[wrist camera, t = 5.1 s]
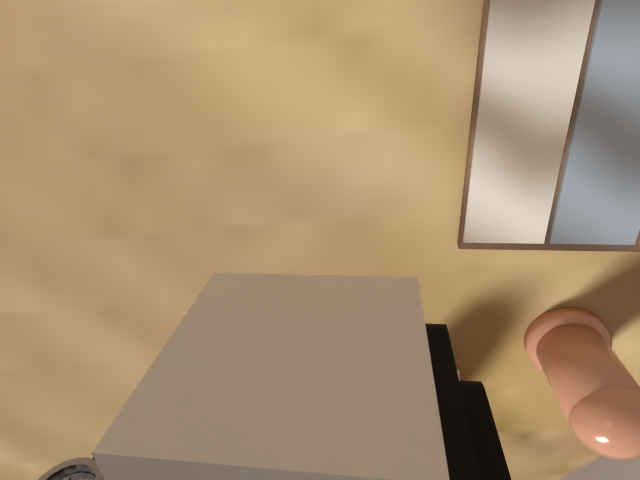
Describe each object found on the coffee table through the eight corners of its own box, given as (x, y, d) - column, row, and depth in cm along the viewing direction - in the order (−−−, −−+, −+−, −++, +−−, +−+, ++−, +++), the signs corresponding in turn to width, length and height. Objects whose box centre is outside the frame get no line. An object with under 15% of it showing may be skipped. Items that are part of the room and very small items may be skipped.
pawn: (530, 306, 25) (587, 411, 18) (612, 308, 25) (705, 419, 18) (518, 363, 27) (566, 478, 20) (594, 367, 27) (669, 487, 20)
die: (214, 272, 10) (91, 453, 6) (418, 277, 10) (451, 485, 5) (241, 413, 13) (166, 620, 8) (408, 424, 12) (426, 658, 8)
